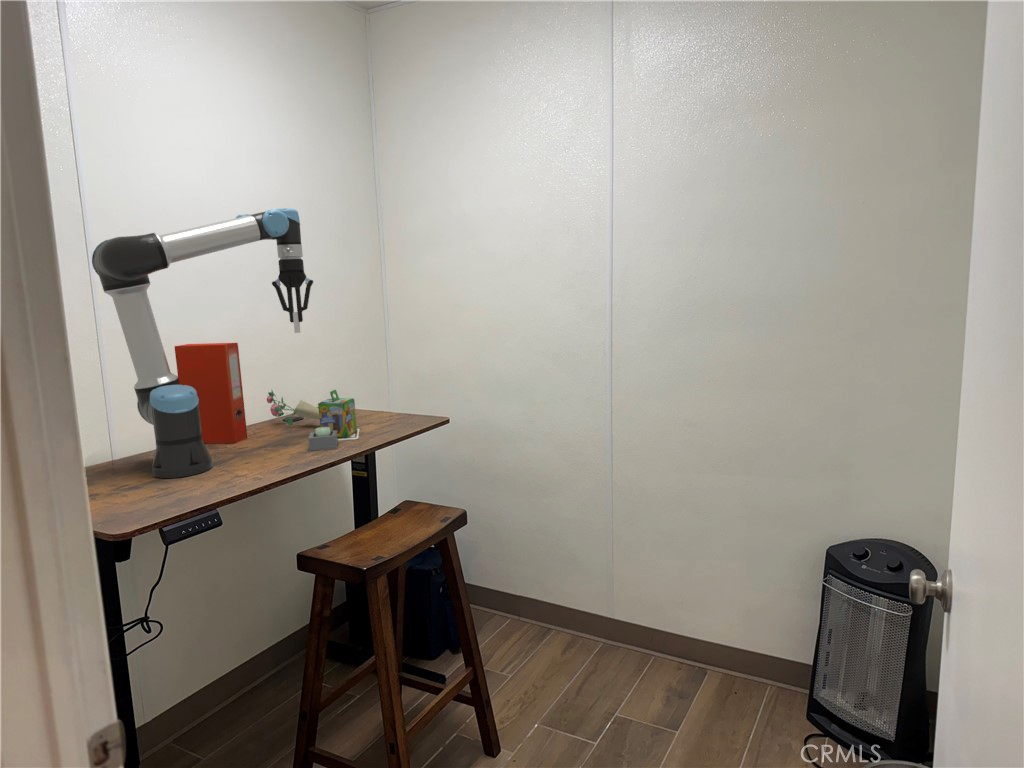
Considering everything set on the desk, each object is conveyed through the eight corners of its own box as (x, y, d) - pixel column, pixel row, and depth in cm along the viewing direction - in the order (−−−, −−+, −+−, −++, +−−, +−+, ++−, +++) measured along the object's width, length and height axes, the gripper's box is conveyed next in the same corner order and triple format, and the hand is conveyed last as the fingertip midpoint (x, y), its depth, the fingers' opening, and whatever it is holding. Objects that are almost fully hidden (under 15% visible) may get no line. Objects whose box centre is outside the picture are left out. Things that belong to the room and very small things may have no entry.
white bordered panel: (319, 442, 213) (319, 441, 212) (323, 432, 226) (323, 431, 226) (357, 439, 215) (357, 438, 215) (359, 429, 228) (359, 428, 228)
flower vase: (337, 451, 230) (254, 425, 241) (357, 433, 240) (276, 409, 250) (334, 423, 224) (249, 397, 235) (355, 405, 234) (273, 382, 244)
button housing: (309, 451, 202) (308, 438, 202) (312, 444, 210) (311, 432, 210) (336, 448, 204) (335, 435, 203) (338, 442, 212) (337, 430, 211)
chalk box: (347, 438, 215) (343, 392, 213) (320, 438, 217) (316, 393, 214) (358, 431, 224) (354, 387, 222) (332, 431, 226) (328, 388, 223)
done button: (315, 443, 204) (314, 430, 204) (317, 439, 208) (315, 427, 208) (330, 442, 205) (329, 429, 204) (331, 438, 209) (330, 426, 209)
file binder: (200, 437, 226) (189, 343, 221) (248, 437, 224) (237, 342, 218) (185, 443, 218) (173, 346, 213) (234, 443, 216) (223, 345, 210)
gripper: (267, 259, 209) (274, 334, 213) (310, 257, 211) (317, 332, 215) (271, 259, 216) (278, 332, 220) (312, 258, 219) (319, 330, 222)
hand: (297, 332), depth 218 cm, fingers closed
